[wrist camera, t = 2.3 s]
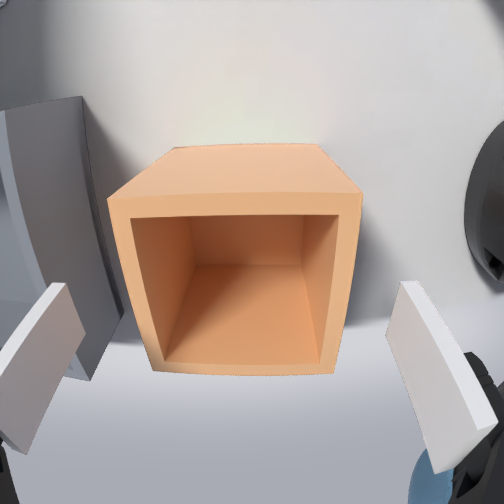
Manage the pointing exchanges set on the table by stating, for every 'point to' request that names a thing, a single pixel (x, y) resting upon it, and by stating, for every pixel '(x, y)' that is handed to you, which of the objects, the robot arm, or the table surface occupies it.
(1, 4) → the tea box
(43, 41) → the table surface
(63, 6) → the table surface
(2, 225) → the large crate
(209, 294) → the small crate
